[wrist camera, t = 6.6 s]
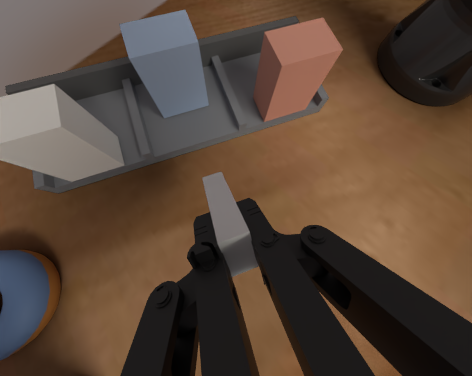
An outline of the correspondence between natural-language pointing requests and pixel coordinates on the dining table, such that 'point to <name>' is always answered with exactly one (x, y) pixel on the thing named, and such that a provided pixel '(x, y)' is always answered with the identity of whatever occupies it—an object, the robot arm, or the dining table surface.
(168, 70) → the blue rectangular block
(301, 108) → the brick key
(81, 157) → the white rectangular block
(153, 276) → the dining table surface
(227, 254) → the robot arm
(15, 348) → the doughnut
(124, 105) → the grey divided tray
